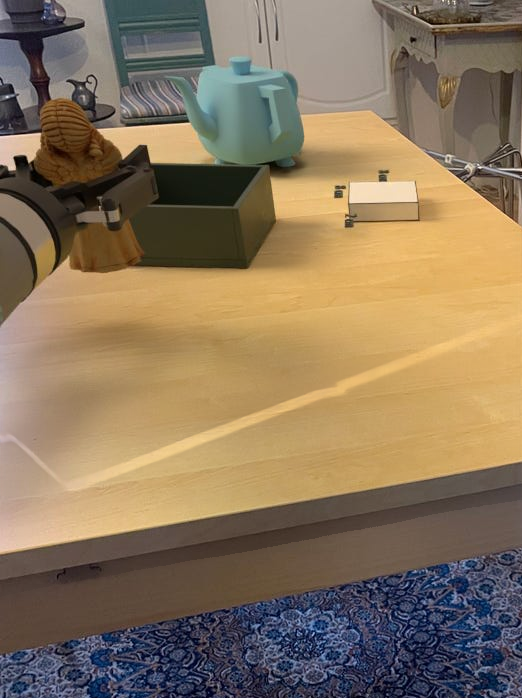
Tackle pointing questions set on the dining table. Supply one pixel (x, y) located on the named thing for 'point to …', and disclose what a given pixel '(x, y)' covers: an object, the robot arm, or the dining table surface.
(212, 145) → the teapot
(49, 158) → the figurine
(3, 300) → the robot arm
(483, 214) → the dining table surface
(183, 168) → the bin
